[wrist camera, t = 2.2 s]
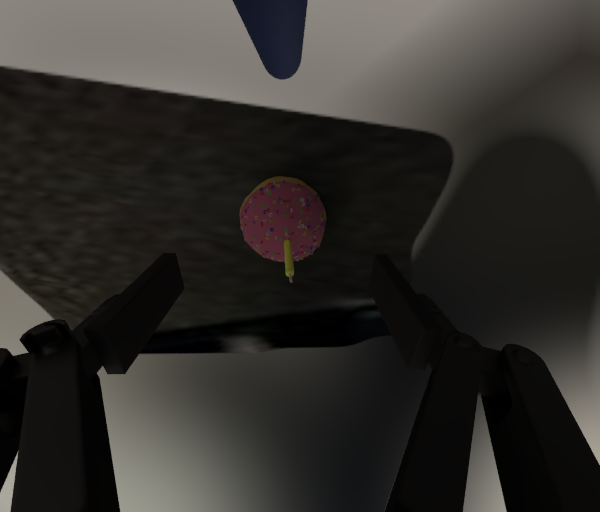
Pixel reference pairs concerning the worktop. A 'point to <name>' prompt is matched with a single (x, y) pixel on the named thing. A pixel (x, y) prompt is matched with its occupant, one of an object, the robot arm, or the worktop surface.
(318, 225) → the cupcake
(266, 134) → the worktop surface
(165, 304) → the robot arm
